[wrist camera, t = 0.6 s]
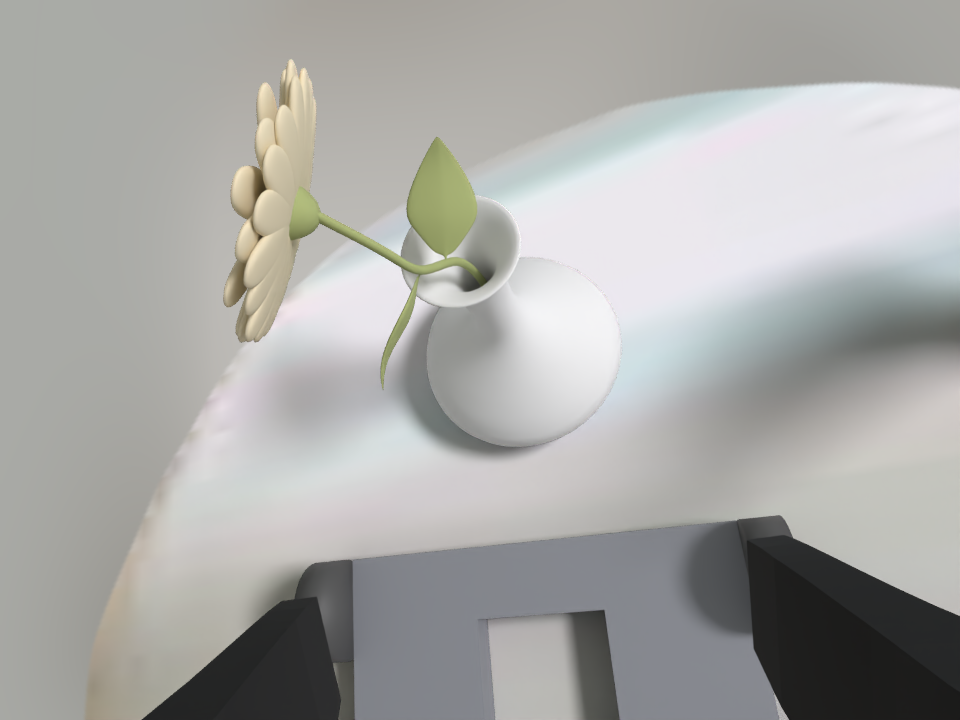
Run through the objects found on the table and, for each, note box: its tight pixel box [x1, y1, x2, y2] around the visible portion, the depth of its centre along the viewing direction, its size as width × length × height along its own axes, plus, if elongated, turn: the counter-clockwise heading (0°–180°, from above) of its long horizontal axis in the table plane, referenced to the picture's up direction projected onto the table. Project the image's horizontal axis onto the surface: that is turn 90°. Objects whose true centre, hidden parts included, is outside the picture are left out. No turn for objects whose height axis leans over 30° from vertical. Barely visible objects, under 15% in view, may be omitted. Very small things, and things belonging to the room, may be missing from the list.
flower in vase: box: [223, 59, 622, 447], centre depth 26 cm, size 13×11×25 cm
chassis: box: [295, 515, 793, 720], centre depth 30 cm, size 14×24×5 cm, turn 95°
